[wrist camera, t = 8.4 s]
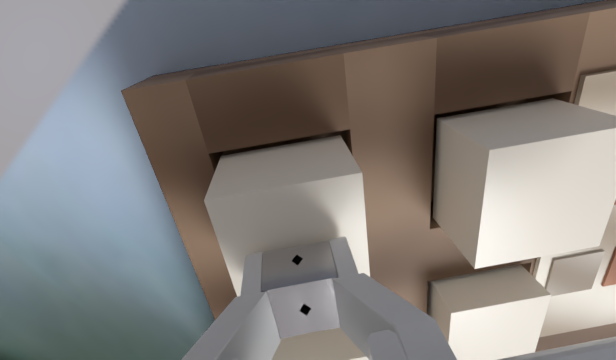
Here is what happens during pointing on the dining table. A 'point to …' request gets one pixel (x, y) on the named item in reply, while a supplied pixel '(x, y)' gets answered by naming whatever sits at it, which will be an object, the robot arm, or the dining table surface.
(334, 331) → the button far left
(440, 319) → the button far right
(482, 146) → the button near right
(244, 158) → the button near left
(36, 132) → the dining table surface
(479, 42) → the button board
